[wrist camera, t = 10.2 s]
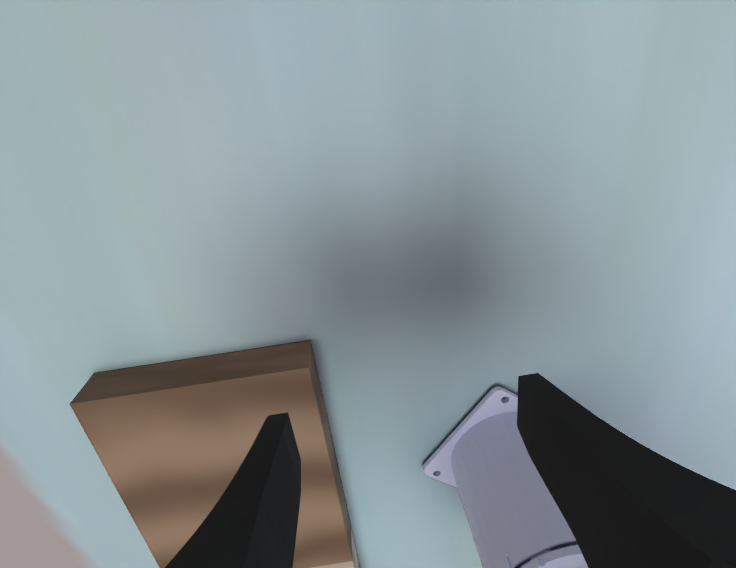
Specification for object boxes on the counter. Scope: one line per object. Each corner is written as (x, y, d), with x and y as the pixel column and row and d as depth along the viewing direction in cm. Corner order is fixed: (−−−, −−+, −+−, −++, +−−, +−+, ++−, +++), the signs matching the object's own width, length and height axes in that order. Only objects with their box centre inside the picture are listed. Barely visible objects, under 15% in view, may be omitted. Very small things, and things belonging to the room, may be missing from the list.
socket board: (365, 591, 35) (368, 627, 32) (215, 616, 34) (207, 653, 32) (310, 340, 24) (308, 367, 22) (93, 373, 24) (69, 404, 22)
